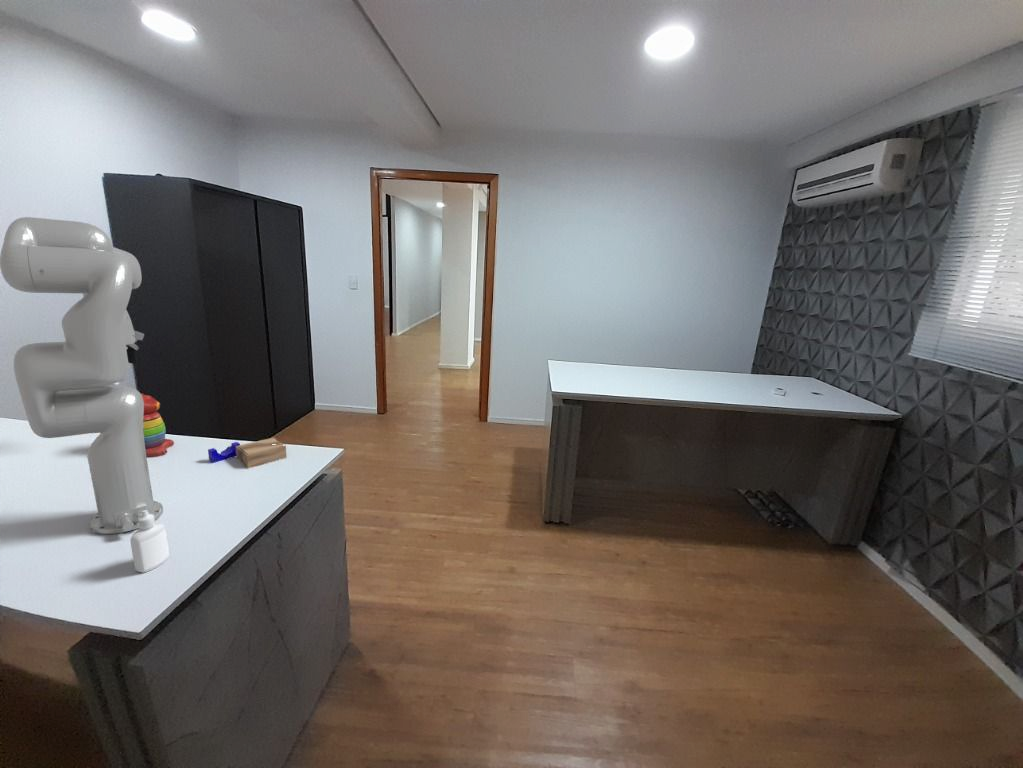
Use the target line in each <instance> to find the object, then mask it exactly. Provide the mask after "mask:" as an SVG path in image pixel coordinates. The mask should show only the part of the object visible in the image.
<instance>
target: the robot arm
mask: <svg viewBox="0 0 1023 768" xmlns="http://www.w3.org/2000/svg"><path fill="white" fill-rule="evenodd" d="M0 273H1V275H2V278H3V279H4V281H5V282H6V283H7V284H8V285H9V286H10V287H11V288H12V289H15V290H16V291H19V292H23V293H29V294H30V293H31V294H33V293H34V294H39V293H40V294H82V296H83V297H82V298H81V299H79V300H78V301H77V302H76V303H74V305H72V306H71V307H70V308H69V309H68V311H66V313H65V314H64V315H63V317H62V318H61V326H62V332H63V335H64V338H65V339H64V340H65V341H53V342H35V343H29V344H26V345H22V346H21V347H19V348H18V349H17V350H16V352H15V354H14V358H13V371H14V377H15V380H16V381H15V382H16V384H17V388H18V390H19V391H18V392H19V394H20V398H21V402H22V405H23V408H24V409H23V410H24V411H25V415H26V419H27V421H28V424H29V427H30V429H31V430H32V432H33V433H34V435H36V436H38V438H39V437H40V438H44V439H54V438H64V437H72V436H81V435H87V434H98V436H97V437H96V438H95V439H94V440H93V442H91V444H90V446H89V448H88V450H87V452H86V453H87V454H86V455H87V457H86V458H87V463H88V467H89V473H90V479H91V482H92V489H93V493H94V497H95V499H94V500H95V503H96V510H97V514H96V515H95V516H94V517H92V519H91V520H90V523H89V525H90V530H91V531H92V532H94V533H98V534H102V535H114V534H120V533H126V532H127V533H128V532H132V531H134V530H138V529H139V524H138V518H139V517H140V516H142V511H144V510H147V511H148V513H149V514H153V515H154V519H155V521H156V520H157V519H158V518H160V517H161V515H163V512H164V507H163V504H162V503H161V502H159V501H156V500H154V498H153V491H152V483H151V478H150V470H149V465H148V459H147V458H148V457H146V450H145V443H144V433H143V415H144V402H143V397H142V395H141V392H140V391H139V390H138V389H136V388H135V387H134V388H133V387H130V386H125V385H120V384H123V383H124V382H126V380H127V378H128V377H129V371H130V369H129V368H130V365H129V364H133V365H138V363H139V362H138V359H139V357H138V352H137V351H138V350H139V348H140V346H141V345H142V344H143V339H144V337H145V333H143V332H140V331H137V330H135V328H134V325H133V323H132V319H131V317H130V314H129V312H128V310H127V307H128V304H129V301H130V298H131V294H132V291H133V290H135V289H139V287H140V286H141V284H142V269H141V265H140V263H139V260H138V259H137V257H136V256H134V255H133V254H132V253H130V252H128V251H125V250H123V249H119V248H117V247H115V246H113V243H112V241H111V239H110V237H109V236H108V234H107V233H106V232H105V231H104V230H103V229H101V228H99V227H98V226H96V225H93V224H90V223H86V222H81V221H74V220H63V219H62V220H61V219H50V218H42V217H31V216H26V217H19V218H16V219H15V220H13V221H12V222H11V223H10V225H8V227H7V229H6V232H5V234H4V238H3V243H2V247H1V249H0Z"/></svg>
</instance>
